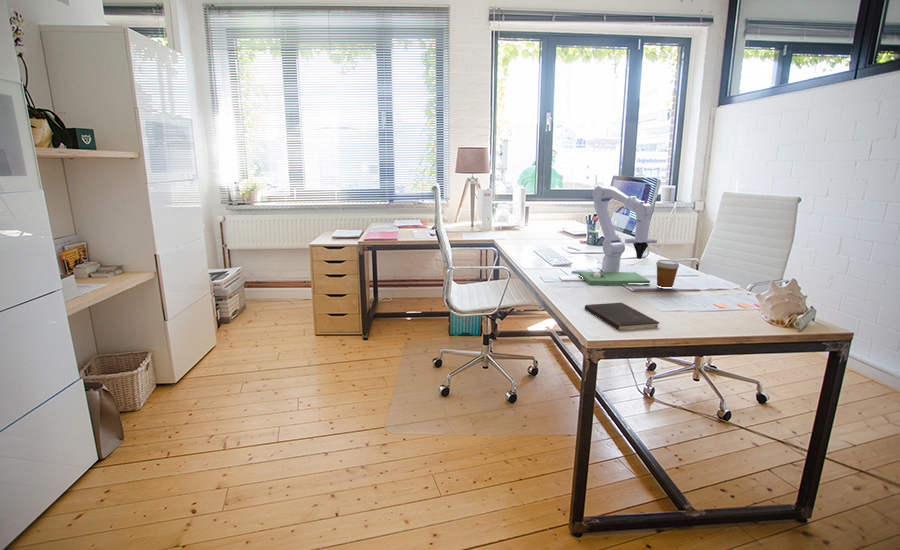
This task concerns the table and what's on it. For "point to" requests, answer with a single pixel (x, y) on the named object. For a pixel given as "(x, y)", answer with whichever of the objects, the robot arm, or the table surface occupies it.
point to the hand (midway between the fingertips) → (639, 258)
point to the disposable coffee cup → (666, 272)
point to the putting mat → (613, 278)
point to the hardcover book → (621, 316)
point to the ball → (596, 275)
